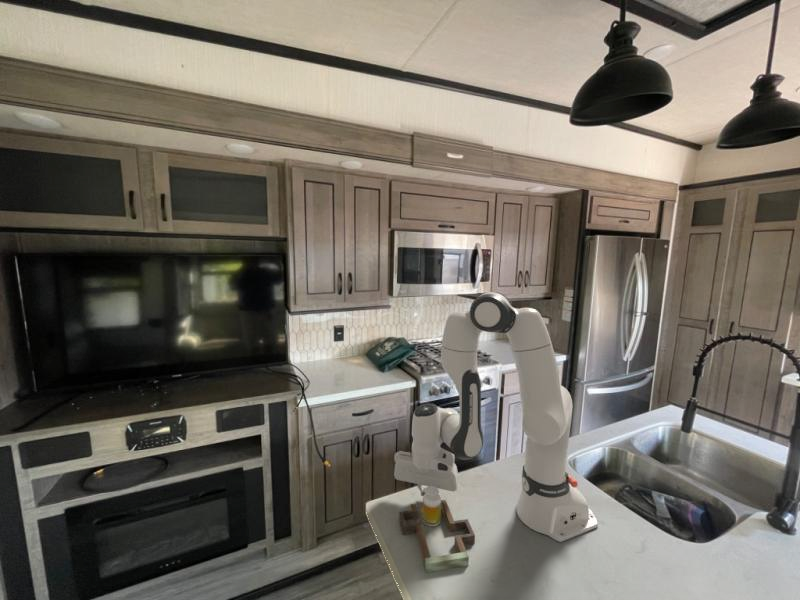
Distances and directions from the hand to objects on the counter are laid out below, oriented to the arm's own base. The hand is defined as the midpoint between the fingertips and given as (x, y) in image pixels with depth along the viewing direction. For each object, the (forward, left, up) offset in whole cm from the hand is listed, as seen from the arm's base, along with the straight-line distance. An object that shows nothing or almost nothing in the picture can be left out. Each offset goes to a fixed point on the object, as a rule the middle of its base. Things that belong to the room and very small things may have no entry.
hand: (425, 495), depth 105 cm
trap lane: (0, +13, -2) cm, 14 cm away
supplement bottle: (0, +8, -2) cm, 8 cm away
